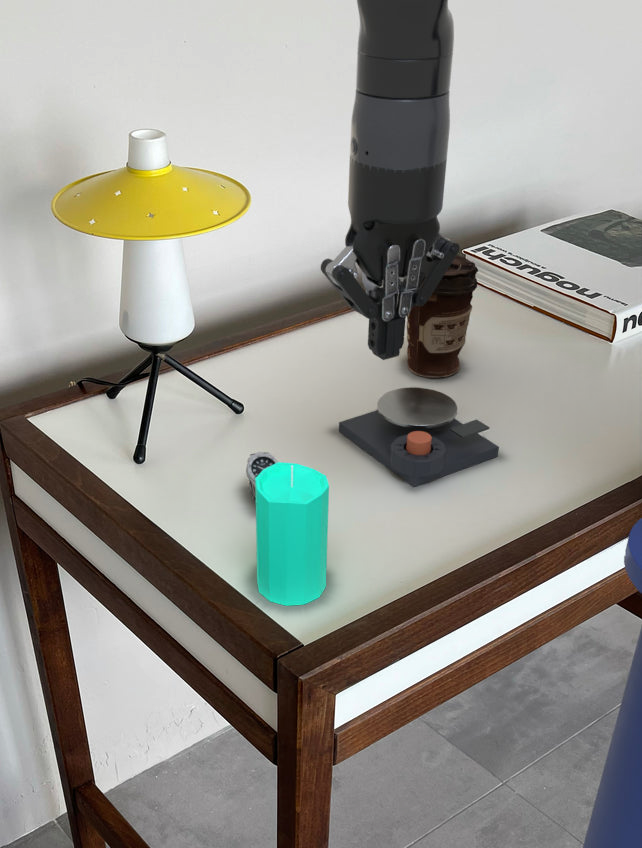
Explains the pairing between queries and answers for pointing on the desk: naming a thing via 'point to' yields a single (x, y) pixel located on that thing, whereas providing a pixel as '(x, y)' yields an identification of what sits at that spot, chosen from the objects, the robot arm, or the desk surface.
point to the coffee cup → (442, 322)
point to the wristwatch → (258, 468)
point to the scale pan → (424, 410)
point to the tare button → (418, 443)
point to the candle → (291, 533)
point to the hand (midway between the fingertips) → (385, 354)
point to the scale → (415, 469)
